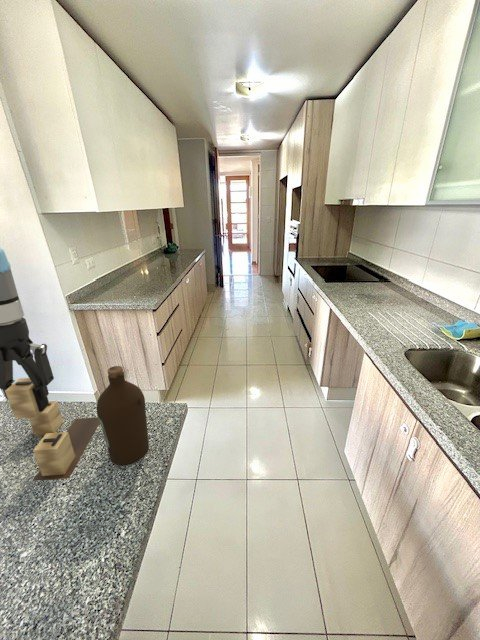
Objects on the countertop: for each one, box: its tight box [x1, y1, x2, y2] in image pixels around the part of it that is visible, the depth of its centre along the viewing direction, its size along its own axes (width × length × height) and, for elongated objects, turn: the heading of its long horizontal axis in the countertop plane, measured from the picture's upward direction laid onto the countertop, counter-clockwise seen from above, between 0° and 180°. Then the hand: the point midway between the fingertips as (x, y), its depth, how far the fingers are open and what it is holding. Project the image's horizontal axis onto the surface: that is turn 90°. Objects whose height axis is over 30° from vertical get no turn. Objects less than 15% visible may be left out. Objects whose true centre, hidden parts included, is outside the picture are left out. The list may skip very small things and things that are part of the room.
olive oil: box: [96, 365, 150, 467], centre depth 63 cm, size 11×11×25 cm
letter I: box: [5, 377, 50, 419], centre depth 63 cm, size 5×5×8 cm
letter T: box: [32, 431, 75, 476], centre depth 61 cm, size 5×5×8 cm
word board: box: [32, 416, 100, 482], centre depth 69 cm, size 8×20×1 cm, turn 6°
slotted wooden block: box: [28, 400, 64, 437], centre depth 73 cm, size 5×5×8 cm
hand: (31, 408), depth 64 cm, fingers closed on letter I, 5 cm apart
